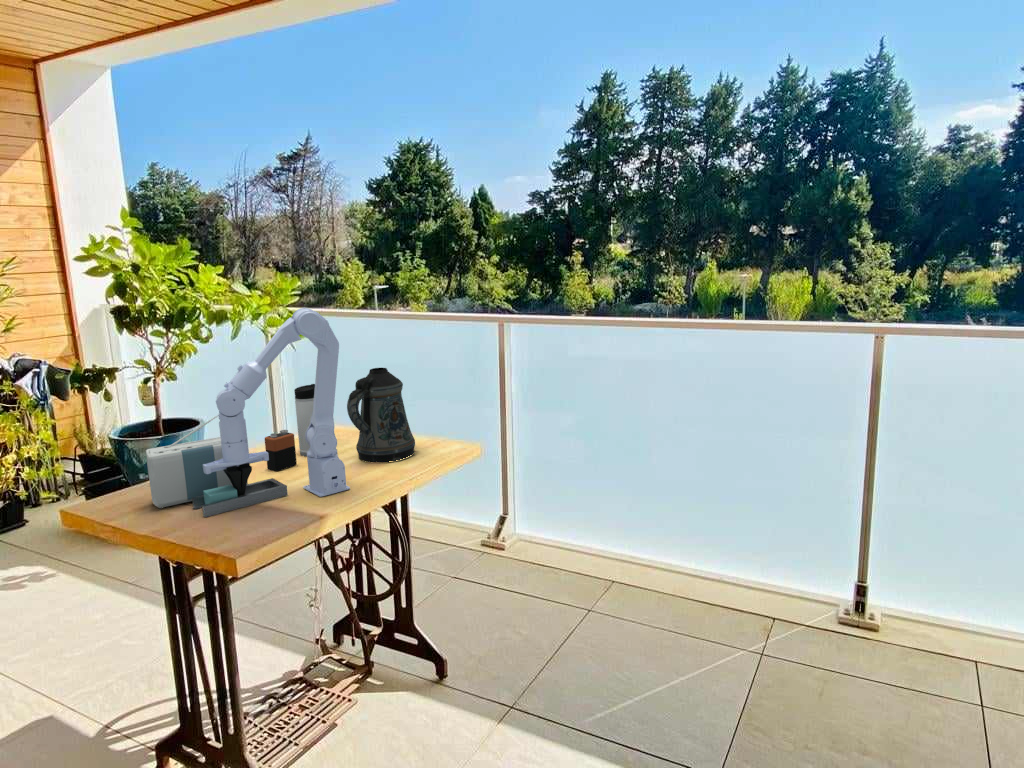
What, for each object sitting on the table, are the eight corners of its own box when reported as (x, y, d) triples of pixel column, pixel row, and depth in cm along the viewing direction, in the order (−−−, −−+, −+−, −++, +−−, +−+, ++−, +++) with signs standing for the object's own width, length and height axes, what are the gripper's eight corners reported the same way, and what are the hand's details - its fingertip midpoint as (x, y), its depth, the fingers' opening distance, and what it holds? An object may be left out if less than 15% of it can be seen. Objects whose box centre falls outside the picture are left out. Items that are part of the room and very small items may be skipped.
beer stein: (422, 447, 206) (417, 363, 201) (403, 467, 187) (397, 375, 182) (368, 446, 208) (362, 364, 203) (344, 466, 189) (337, 375, 184)
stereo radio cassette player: (155, 512, 159) (144, 427, 156) (149, 502, 166) (138, 420, 162) (249, 491, 171) (241, 412, 167) (240, 483, 178) (232, 407, 174)
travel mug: (327, 452, 203) (321, 385, 200) (307, 457, 199) (301, 388, 195) (315, 448, 207) (309, 382, 204) (295, 453, 203) (289, 386, 199)
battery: (297, 465, 192) (294, 430, 190) (277, 472, 186) (273, 435, 184) (287, 463, 194) (284, 428, 192) (266, 469, 188) (263, 433, 187)
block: (238, 506, 161) (236, 489, 160) (211, 513, 157) (209, 496, 157) (231, 500, 165) (229, 484, 164) (205, 507, 161) (203, 490, 160)
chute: (273, 487, 173) (272, 478, 173) (287, 495, 167) (286, 485, 167) (193, 508, 161) (191, 497, 160) (205, 517, 155) (203, 506, 154)
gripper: (258, 431, 169) (263, 484, 171) (195, 443, 159) (202, 499, 162) (270, 436, 164) (275, 491, 166) (206, 449, 154) (213, 507, 157)
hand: (240, 496), depth 164 cm, fingers closed
